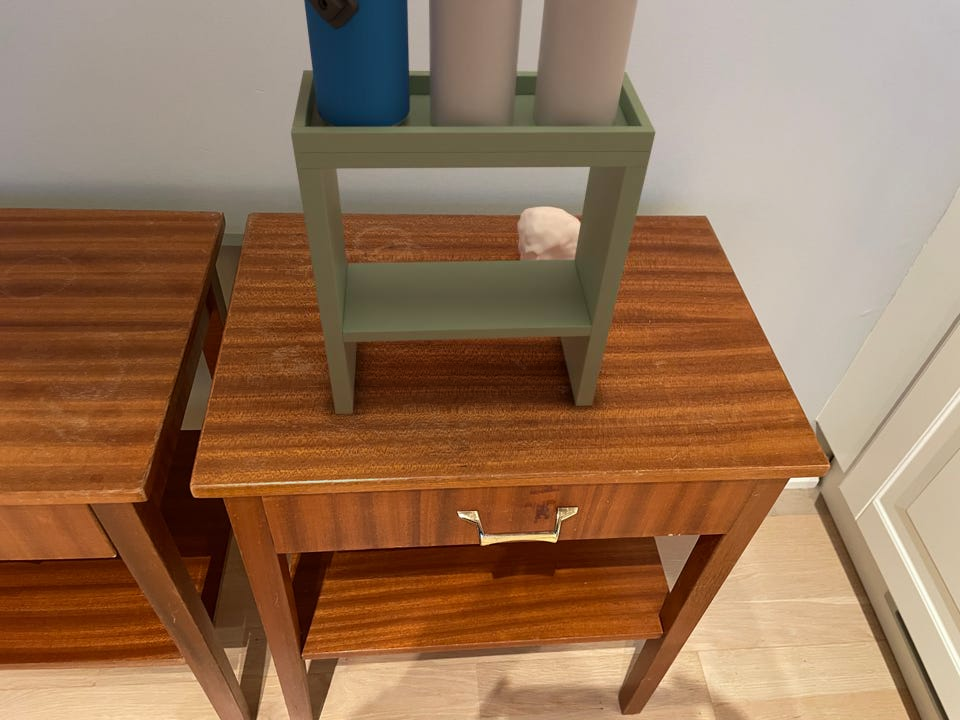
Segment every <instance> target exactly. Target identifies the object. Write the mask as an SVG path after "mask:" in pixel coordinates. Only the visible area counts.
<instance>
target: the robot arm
mask: <svg viewBox="0 0 960 720" xmlns="http://www.w3.org/2000/svg"><path fill="white" fill-rule="evenodd" d="M308 1H309V2H310V4H311V5H312V7H314V9H315V10H316V12H317V13H318V14H319V15H320V17H321V18H323V19H324V20H325V21H326V22H328V23H329V24H330V26H331V27H332V28H334V29H340V28H341V27H343V26H344V25H346V24H347V23H348V22H349V21H350V20H351V19H352V18H353V17H354V16H355V14H356V13H357V12H358V11H359V3H358V1H357V0H308Z"/></svg>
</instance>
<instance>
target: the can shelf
mask: <svg viewBox="0 0 960 720" xmlns="http://www.w3.org/2000/svg"><path fill="white" fill-rule="evenodd" d="M638 2H639V0H543V9H542V18H541V19H542V20H541V29H540V38H539V39H540V41H539V51H538V60H537V69H536V71H532V70H531V71H530V70H529V71H528V70H527V71H526V70H525V71H520V70H519V71H518V63H519V52H520V51H519V50H520V49H519V48H520V36H521V24H522V14H523V13H522V12H523V11H522V10H523V0H428V30H429V31H428V34H429V35H428V36H429V38H428V39H429V41H428V43H429V44H428V45H429V48H428V49H429V50H428V51H429V70H409V90H410V112H409V114H408V116H407V117H406V119H405V120H404V121H402V122H401V123H399V124H398V125H397V126H396V127H333V126H331V125H329V124H327V123H326V122H324V121H323V120H322V119H321V118H320V116H319V114H318V111H317V103H316V94H315V86H314V78H313V69H312V70H311V69H309V70H306V69H305V70H303V71H302V75H301V76H302V77H301V80H300V86H299V92H298V96H297V101H296V106H295V111H294V117H293V120H292V126H291V131H290V135H291V142H292V148H293V149H292V150H293V156H294V162H295V168H296V170H297V169H336V170H337V169H341V170H342V169H461V168H462V169H464V168H465V169H475V168H476V169H478V168H480V169H481V168H482V169H484V168H485V169H486V168H491V169H492V168H494V169H495V168H496V169H497V168H501V169H503V168H590V167H647V168H648V167H649V162H650V158H651V154H652V150H653V145H654V140H655V136H656V130H655V127H654V126H653V123H652V122H651V120H650V118H649V116H648V113H647V111H646V110H645V107H644V105H643V103H642V101H641V99H640V97H639V96H638V93H637V91H636V89H635V87H634V85H633V83H632V81H631V79H630V77H629V75H628V72H627V71H626V66H627V61H628V55H629V50H630V44H631V38H632V33H633V28H634V23H635V18H636V12H637V8H638Z"/></svg>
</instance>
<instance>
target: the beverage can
mask: <svg viewBox="0 0 960 720" xmlns="http://www.w3.org/2000/svg"><path fill="white" fill-rule="evenodd" d="M303 1H304V9H305V10H304V11H305V17H306V28H307V36H308V45H309V52H310V59H311V60H310V61H311V69H312V70H313V78H314V86H315V94H316V103H317V111H318V114H319V116H320V118H321V119H322V120H323V121H324V122H326V123H327V124H329V125H331V126H333V127H396V126H397V125H398V124H399V123H401V122H402V121H404V120H405V119H406V117H407V116H408V114H409V112H410V90H409V71H410V54H409V48H410V47H409V12H408V7H409V5H408V3H409V2H408V0H357V1H358V3H359V11H358V12H357V13H356V14H355V16H354V17H353V18H352V19H351V20H350V21H349V22H348V23H347V24H346V25H344V26H343V27H341V28H340V29H334V28H332V27H331V26H330V24H329V23H328V22H326V21H325V20H324V19H323V18H321V17H320V15H319V14H318V13H317V12H316V10H315V9H314V7H312V5H311V4H310V2H309V1H308V0H303Z"/></svg>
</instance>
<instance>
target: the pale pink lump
mask: <svg viewBox="0 0 960 720" xmlns="http://www.w3.org/2000/svg"><path fill="white" fill-rule="evenodd" d="M580 224H581V221H579V219H578V218H577V217H575V216H574V215H572V214H570V213H569V212H567V211H565V209H562V208H559V207H554V206H535V207H528V208H525V209H524V210H523V212H522V213H521V214H520V217H519V220H518V221H517V225H516V229H517V237H518V244H517V249H518V252H519V255H520V260H574V259H575V253H576V247H577V241H578V236H579V230H580Z"/></svg>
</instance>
